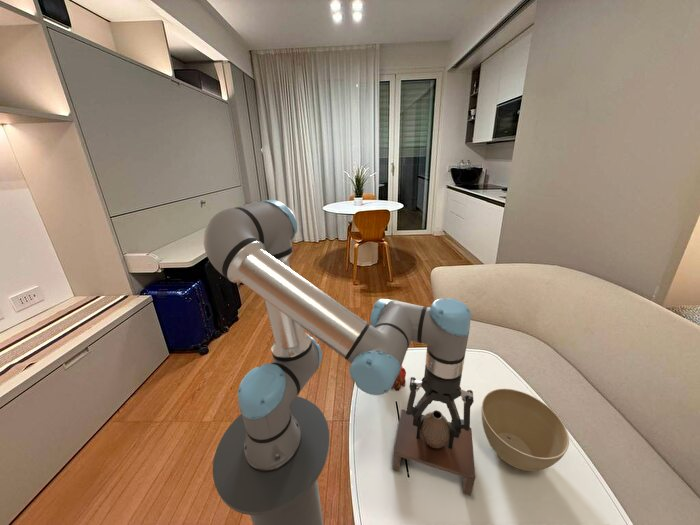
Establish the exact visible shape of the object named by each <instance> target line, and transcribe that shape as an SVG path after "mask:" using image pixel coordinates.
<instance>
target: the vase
mask: <svg viewBox="0 0 700 525" xmlns="http://www.w3.org/2000/svg"><path fill="white" fill-rule="evenodd" d="M424 415H425V416H424V417H423V419H422V422H421V435H422V437H423V439H424V441H425V442H426V443H427V444H428V445H429V446H431V447H433V448H442V447H444V446H445V445H446V444H447V443H448V441H449V439H450V426H449V423H448V422H449V421H448V419H447V418H446V416H444V414H443V413H442V412H441V411H439V410H437V409H436V410H433V411H430V412H428V413H425V414H424Z"/></svg>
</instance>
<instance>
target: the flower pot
mask: <svg viewBox="0 0 700 525" xmlns="http://www.w3.org/2000/svg"><path fill="white" fill-rule="evenodd" d="M481 423H482V427H483V432H484V434H485V437H486V440H487V441H488V443H489V445H490V447H491V448H492V449H493V451H494V452H495V454H496V455H497V456H498V457H499V458H500V459H502V460H503V461H504V462H505V463H506V464H508V465H510V466H512V467H513V468H515V469H518V470H521V471H528V472H537V471H542V470H545V469H549V468H551V467H552V466H554V465H555V464H557V463H558V462H559V461H560V460H561V459H562V458H563V457H564V455H565V454H566V453H567V451H568V449H569V447H570V446H569V445H570V436H569V432H568V430H567V428H566V426H565V424H564V422H563V421H562V419H561V418H560V417H559V416H558V414H557V413H556V412H555V411H554V410H552V408H550V406H548V405H547V404H546V403H544V402H543V401H541V400H540V399H538V398H536V397H535V396H533V395H531V394H529V393H527V392H524V391H521V390H517V389H511V388H497V389H494V390H491V391H490V392H488V393H486V394H485V396H484V397H483V400H482V403H481Z"/></svg>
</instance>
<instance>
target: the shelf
mask: <svg viewBox="0 0 700 525" xmlns="http://www.w3.org/2000/svg"><path fill="white" fill-rule="evenodd" d="M406 410H407V409H403V408H401V410H400V415H399V420H398V421H399V422H398V426H397V431H396V436H395V441H394V447H393V453H392V454H393V457H392V470H394V471H396V472H400V469H401V462H402V458H403V459H405V460H409V461H412V462H415V463H418V464H421V465H424V466H427V467H430V468H432V469H437V470H440V471H442V472H446V473H449V474H452V475H455V476H458V477H461V478H462V493H463V495H466V496H469V497H471V496H472V493H473V489H474V485H475V480H476V470H475V457H474V444H473V431H472V427H470V430H469V431H466V430H465V429H461V433H460V434H459V437H458V438H456V437H454V440H453V445H452V449H451V448H449V441H448V443H447V444H446V445H445V446H444V447H442V448H433V447H431V446H429V445H428V444H427V443H426V442H425V441H424V439H423V437H422V435H421V429H420V439H417V438H416V437H417V426H413V416H412V415H407V414H406ZM425 415H426V414H422V419H423V417H424V416H425ZM422 419H421V422H422ZM448 423H449V426H451V421H448Z"/></svg>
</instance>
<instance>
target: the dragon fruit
mask: <svg viewBox="0 0 700 525" xmlns="http://www.w3.org/2000/svg"><path fill="white" fill-rule="evenodd" d="M406 376H407V371H406V369H405V367H403V365H402V366H401V370H400V373H399V375H398V376H397V377H396V380H395V382H394V384H393V386H392V388H391V390H393V389H394V391H395V392H400V391H401V389H402V388H405V387H406V383H407V382H406V381H407V380H406Z"/></svg>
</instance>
